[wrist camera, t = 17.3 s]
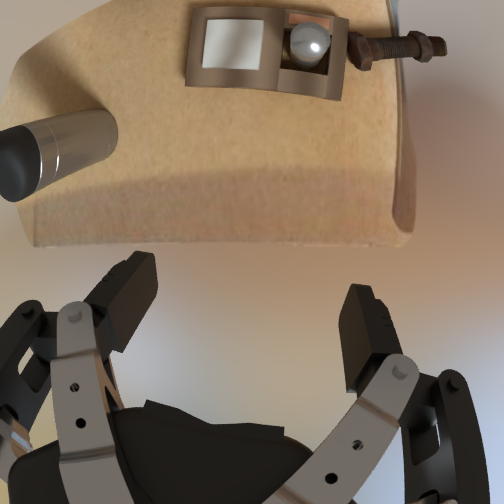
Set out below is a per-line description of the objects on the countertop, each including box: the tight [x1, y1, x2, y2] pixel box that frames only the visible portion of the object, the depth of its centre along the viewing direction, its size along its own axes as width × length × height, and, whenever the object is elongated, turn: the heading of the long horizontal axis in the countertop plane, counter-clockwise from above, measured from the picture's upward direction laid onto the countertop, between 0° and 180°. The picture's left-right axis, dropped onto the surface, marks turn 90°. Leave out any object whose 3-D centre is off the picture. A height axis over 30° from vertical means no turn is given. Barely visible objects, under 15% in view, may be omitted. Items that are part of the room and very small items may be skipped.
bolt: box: [347, 31, 447, 71], centre depth 24 cm, size 6×5×15 cm
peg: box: [290, 22, 331, 69], centre depth 25 cm, size 4×4×10 cm
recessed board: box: [185, 6, 349, 101], centre depth 28 cm, size 20×12×4 cm, turn 85°
